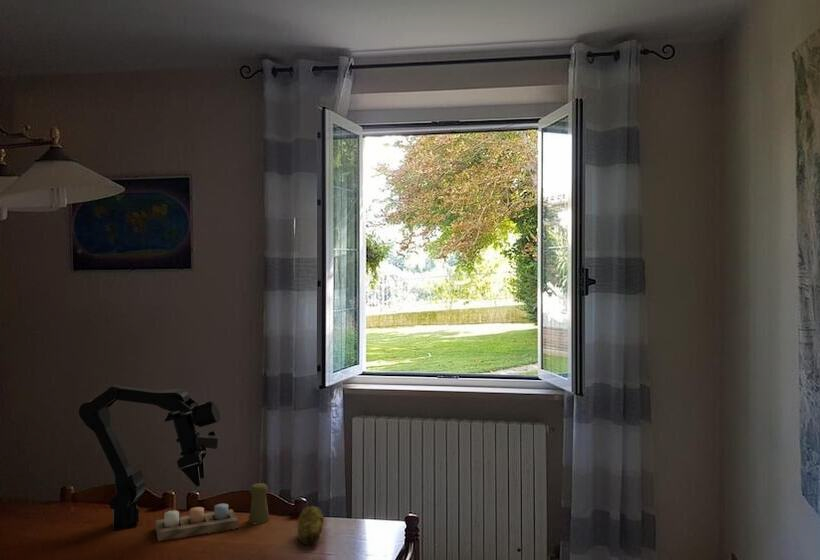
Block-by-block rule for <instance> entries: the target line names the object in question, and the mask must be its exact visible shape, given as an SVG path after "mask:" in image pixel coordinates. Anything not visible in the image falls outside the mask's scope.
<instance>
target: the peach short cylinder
mask: <svg viewBox="0 0 820 560" xmlns="http://www.w3.org/2000/svg"><path fill="white" fill-rule="evenodd" d="M204 513H205V508H204V507H202V506H195V507H191V508H189V515H190V524H195V523H202V522H204Z"/></svg>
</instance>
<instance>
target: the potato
mask: <svg viewBox="0 0 820 560" xmlns="http://www.w3.org/2000/svg"><path fill="white" fill-rule="evenodd" d="M324 520H325V519H324V515H323V510H322V509H321V508H320V507H318V506H317V505H309V506H306V507H304V508H303V509H302V510H301V512H300V514H299V517H298V523H297V536H298V538H299V541H300V542H301V543H303V544H305V545H309V546H312V545H315V544H316V543H317V542H318V541H319V540H320V535H321V534H322V531H323V525H324Z"/></svg>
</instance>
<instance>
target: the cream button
mask: <svg viewBox="0 0 820 560" xmlns="http://www.w3.org/2000/svg"><path fill="white" fill-rule="evenodd" d="M179 517H180V511H179V510H168V511H165V512H164V515H163V519H164V528H169V527H175V526H179Z"/></svg>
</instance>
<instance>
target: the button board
mask: <svg viewBox="0 0 820 560" xmlns="http://www.w3.org/2000/svg"><path fill="white" fill-rule="evenodd" d="M235 528H238V529H239V519H238V516H236V514H235V511H234V510H233V509H232V508H231V509H228V519H221V520H214V511H209V512H204V522H202V523H195V524H190V514H189V515H183V516H179V526H175V527H169V528H164V518H162V519H156V520H155V532H156V533H157V534H156V533H155V534H156V537H157V541H158V542H162V541H163V540H164V541H168V540H169V539H170V540H175V539H182V538H187V537H188V536H189V537H194V536H193V535H195V536H199V535H198V534H201V535H205V534H204V533H208V534H213V533H212V532H214V533H219V532H218V531H220V532H225V531H224V530H227V531H230V530H229V529H233V530H236V529H235ZM181 537H182V538H181ZM174 538H175V539H174Z"/></svg>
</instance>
